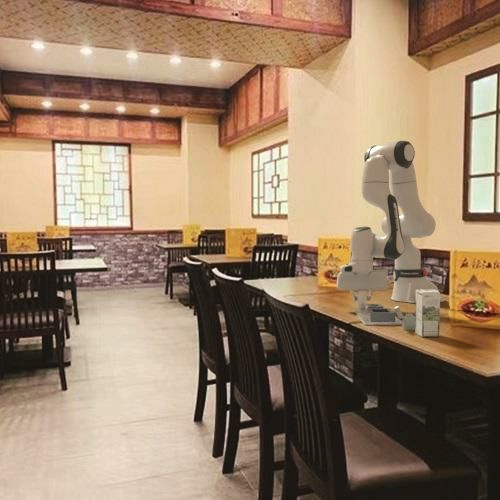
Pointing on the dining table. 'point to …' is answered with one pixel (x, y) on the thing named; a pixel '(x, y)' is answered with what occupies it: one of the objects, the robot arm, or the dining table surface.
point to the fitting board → (377, 315)
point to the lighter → (406, 319)
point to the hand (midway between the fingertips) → (362, 300)
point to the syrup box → (427, 313)
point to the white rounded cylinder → (361, 299)
